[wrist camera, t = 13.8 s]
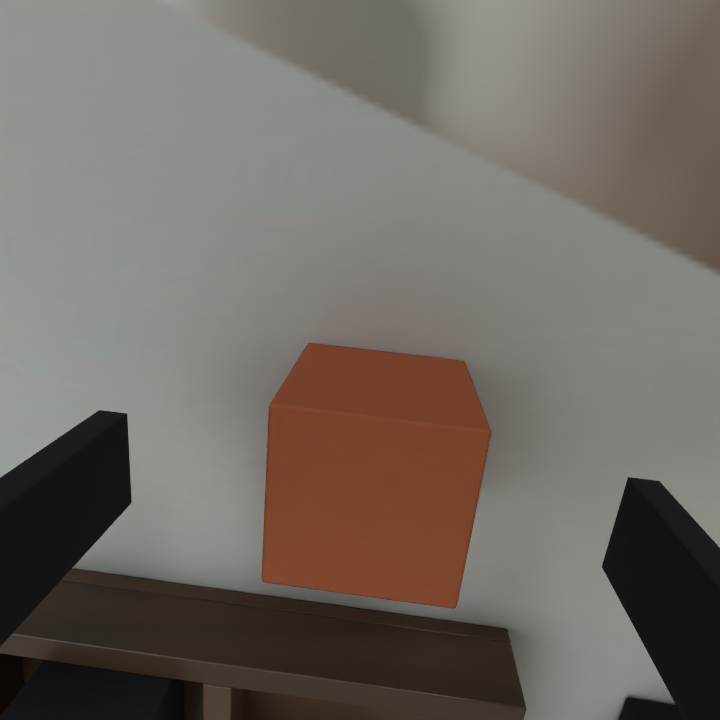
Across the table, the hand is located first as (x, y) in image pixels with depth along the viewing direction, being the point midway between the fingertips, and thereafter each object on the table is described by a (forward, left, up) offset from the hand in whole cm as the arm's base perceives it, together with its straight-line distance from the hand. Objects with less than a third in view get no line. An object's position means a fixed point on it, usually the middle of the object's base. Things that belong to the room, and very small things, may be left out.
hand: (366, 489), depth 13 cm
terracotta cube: (0, 0, -4) cm, 4 cm away
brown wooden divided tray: (+13, -4, -4) cm, 14 cm away
